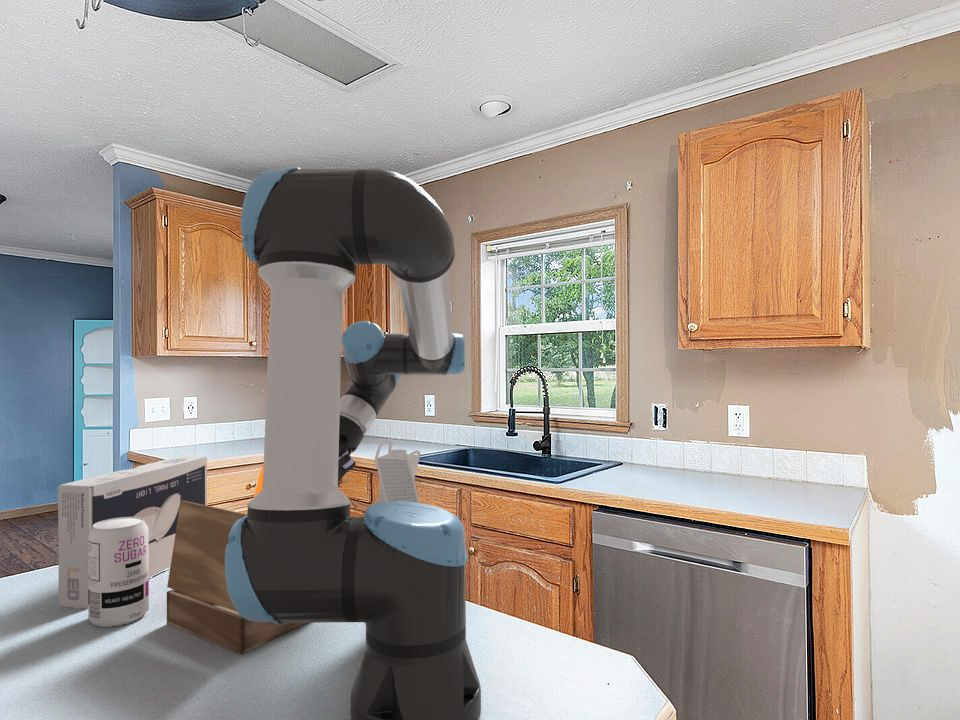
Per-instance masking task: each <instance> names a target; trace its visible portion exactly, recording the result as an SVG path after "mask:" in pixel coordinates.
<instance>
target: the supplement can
mask: <svg viewBox="0 0 960 720" xmlns="http://www.w3.org/2000/svg"><path fill="white" fill-rule="evenodd" d="M149 580H150V579H149V542H148V526H147V525H146V523H145V522H144V519H143V518H140V517H120V518H113V519H108V520H103V521H100V522H97V523H95V524H94V525H93V528H92V530H91V532H90V534H89V536H88V609H87V610H88V616H87V617H88V621H89V622H90V623H91V624H93V625H94V626H95V627H99V626H100V628H113V627H112V626H114V627H120V626H124V625H123V624H125V625H128V624H131V623H134V622H136V621H138V620H140V619H141V618H142V617H144V616H145V614H146V613H147V612H148V611H149V609H150V606H149V605H150V602H149V601H150V600H149V599H150V593H149V592H150V587H149V586H150V581H149ZM139 618H140V619H139ZM137 619H138V620H137ZM135 620H136V621H135ZM133 621H134V622H133ZM130 622H131V623H130Z"/></svg>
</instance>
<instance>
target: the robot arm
mask: <svg viewBox="0 0 960 720" xmlns="http://www.w3.org/2000/svg"><path fill="white" fill-rule="evenodd" d="M241 209H242V210H241V218H240V233H241V234H242V235H243V237H242V240H241V241H242V247H243V250H244V253H245V255H246V257H247V258H248V260H249V261H250V262H252V263H253V264H254V265H255V264H256V265H257V266H258V267H257V269H258V271H257V273H258V276H259V277H260V279H262V281H264V282H265V283H266V285H267V286H268V287H269V288H270V297H269V298H270V301H269V321H268V324H269V325H268V345H267V347H268V349H267V369H266V370H267V371H266V372H267V374H266V396H265V397H266V400H265V418H264V419H265V421H264V444H263V445H264V447H263V464H262V465H263V487H262V489H261V491H260V492H259V493H258V494H257V495H256V496H255V495H254V496H255V497H254V496H253V498H251V500H250V501H248V503H247V513H246V514H247V516H245V517H243V518H241V519H239V520H237V521H236V522H235V524H234V525H233V526H232V528H231V530H230V533H229V536H228V539H229V544H227V545H226V550H225V577H226V585H227V590H228V594H229V597H230V600H231V602H232V604H233V606H234V608H235V609H236V610H237V612H238V613H239V614H240V615H241V616H242V617H243V618H245V619H247V620H249V621H254V622H272V623H275V624H281V625H284V624H286V623H306V624H308V623H316V624H317V623H318V624H319V623H326V624H327V623H365V624H364V625H365V646H364V649H363V653H362V656H361V658H360V662H359V665H358V668H357V669H358V670H357V671H356V675H355V679H354V681H353V685H352V689H351V691H350V720H478V718H479V717H480V713H481V709H482V706H481V705H482V690H481V688H482V687H481V682H480V680H479V676H478V674H477V670H476V667H475V664H474V661H473V657H472V655H471V652H470V649H469V645H468V642H467V635H466V634H467V629H466V627H467V610H466V604H467V603H466V598H467V597H466V594H467V593H466V564H467V563H468V553H467V551H466V549H467V548H466V534H465V533H466V532H465V531H466V530H465V527H464V524H463V522H462V521H461V519H460V518H459V517H458V516H457V515H456V514H455V513H453V512H450V511H448V510H446V509H445V508H441V507H440V506H439V507H438V506H435V505H431V504H428V503H427V504H426V503H423V502H422V503H421V502H419V503H416V502H406V501H392V502H379V503H377V502H376V503H375V502H374V503H372V504H371V505H369V506H368V507H367V508H366V511H365V513H364V514H363V516H351V499H350V498H349V497H348V496H346V494H345V492H343V491H342V490H341V489H340V487H339V486H338V485H339V482H340V481H341V480H342V478H343V477H344V476H345V475H346V474H347V473H348V472H350V471H351V470H352V469H354V468H355V466H356V465H357V463H356V461H355V460H354V459H353V458H352V457H351V454H352V453H355V452H356V450H357V449H358V447H359V445H360V444H361V442H362V441H363V439H364V435H366V434H367V432H368V430H369V429H370V427H371V426H372V424H373V423H374V421H375V419H376V418H377V417H378V415H379V413H380V412H381V409H383V407H384V405H385V404H386V402H387V400H388V399H389V398H390V395H391V394H392V393H393V392H394V391H395V389H396V387H397V385H398V382H399V381H400V378H401V375H402V376H403V375H405V376H406V375H413V376H414V375H420V376H421V375H427V376H428V375H433V376H436V375H437V376H438V375H439V376H440V375H441V376H447V375H459V374H462V373H463V372H464V371H465V368H466V339H465V336H464V335H463V334H461V333H454V332H453V331H454V327H453V315H452V313H453V312H452V303H451V301H452V300H451V298H452V297H451V287H450V285H451V284H450V275H449V274H450V273H449V270H450V269H451V268H452V266H453V263H454V261H455V256H456V255H455V254H456V252H455V238H454V235H453V229H452V227H451V226H450V223H449V221H448V219H447V217H446V215H445V213H444V212H443V210H442V209H441V207H440V206H439V205H438V204H437V202H436V201H435V199H433V198H432V197H431V195H429V194H428V192H426V190H424V189H423V187H421V186H419V185H418V184H417V183H416V182H414V181H413V180H412V179H410V178H408V177H406V176H404V175H402V174H400V173H398V172H395V171H391V170H389V169H383V168H368V169H365V168H364V169H362V168H361V169H360V168H359V169H358V168H357V169H355V168H354V169H351V168H347V169H346V168H344V169H343V168H342V169H340V168H301V167H296V166H294V167H288V168H286V169H270V170H269V169H268V170H265V171H262V172H260V173H259V174H258V176H256V177H255V178H253V180H252V181H251V183H250V184H249V186H248V188H247V190H246V193H245V196H244V199H243V203H242V208H241ZM374 264H376V265H385V266H387V268H388V270H389V271H390V273H391V274H392V275H393V276H394V277H395V278H396V280H397V285H398V286H397V287H398V290H399V293H400V294H399V296H400V299H401V303H402V308H403V313H404V319H405V322H406V326H407V327H406V328H407V331H408V333H384V332H383V330H382V329H381V327H380V326H379V325H378V324H377V323H373V322H371V321H368V320H363V321H362V320H360V321H356V322H354V323H352V324H351V325H349V326H347V327H346V329H345V330H344V332H343V303H344V302H343V300H344V298H343V296H344V295H343V294H344V292H345V291H346V290H347V289H348V288H350V286H352V285H353V284H354V283H355V282H356V278H357V277H356V272H357V269H356V268H357V265H374ZM342 352H343V353H342ZM342 356H343V359H344V361H345V365H346V368H347V372H348V376H349V380H350V385H349V386H348V388H347V390H346V391H345V392H344V394H343V395H342V397H341V382H342V381H341V374H342V373H341V372H342Z"/></svg>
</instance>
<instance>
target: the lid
mask: <svg viewBox="0 0 960 720" xmlns="http://www.w3.org/2000/svg"><path fill="white" fill-rule="evenodd" d="M247 514H248V513H243V512H239V511H234V510H229V509H225V508H219V507H217V506H210V505H208V504H207V505H202V504H197V503H193V502H188V501H181V502H180V509H179V515H178V521H177V528H176V534H175V540H174V547H173V553H172V559H171V566H170V569H169V573H168V580H167V586H166V587H167V588H168V589H170V590H173V589H174V590H177V591H180V592H182V593H185V594H188V595H191V596H194V597H197V598H199V599H202V600H205V601H208V602H211V603H214V604H216V605H219V606H222V607H225V608H228V609H230V610H233V611H236V612H237V610H236V609H235V608H234V606H233V604H232V602H231V600H230V597H229V594H228V590H227V585H226V577H225V550H226V545H227V544H229V539H228V536H229V533H230V530H231V528H232V526H233V525H234V524H235V522H236V521H237V520H239V519H241V518H243V517H245V516H247Z"/></svg>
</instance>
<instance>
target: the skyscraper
mask: <svg viewBox="0 0 960 720" xmlns="http://www.w3.org/2000/svg"><path fill="white" fill-rule="evenodd" d="M387 442H389V443H388V450H387V454H384V455H382V456H379V454H380V451H381V449H382V447H383V446H384V444H386V443H387ZM392 446H393V440H392V439H391V438H390V437H389V438H385V439H383V441H382V442H381V443H380V444H379V446H378V447H377V450H376V452H375V456H374V461H375V465H376V469H377V474H378V479H379V482H380V484H379V490H378V496H377V501H376V503H379V502H392V501H406V502H416V503H420V499H419V495H418V494H419V493H418V490H417V486H416V482H415V477H416V475H417V470H418V466H419V462H420V458H421V452H420V450H413V451H412V452H410V453H407V450H406V449H392Z"/></svg>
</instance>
